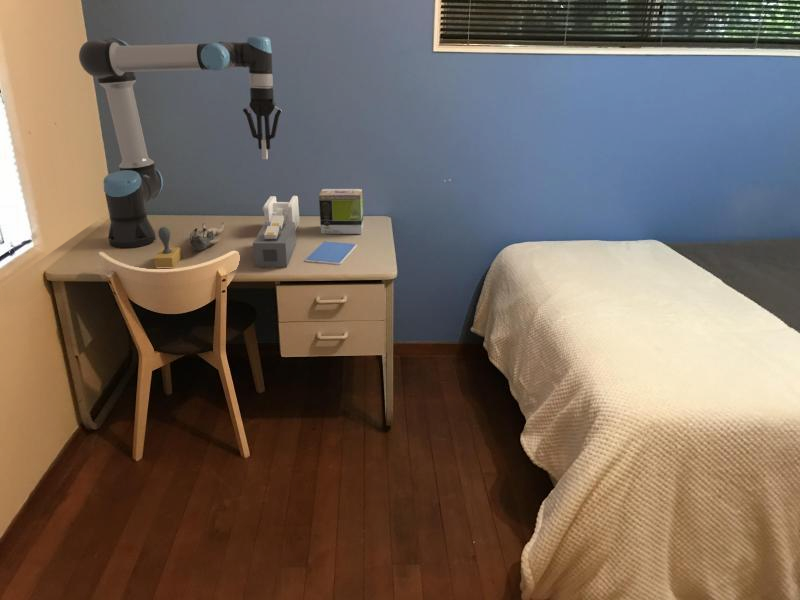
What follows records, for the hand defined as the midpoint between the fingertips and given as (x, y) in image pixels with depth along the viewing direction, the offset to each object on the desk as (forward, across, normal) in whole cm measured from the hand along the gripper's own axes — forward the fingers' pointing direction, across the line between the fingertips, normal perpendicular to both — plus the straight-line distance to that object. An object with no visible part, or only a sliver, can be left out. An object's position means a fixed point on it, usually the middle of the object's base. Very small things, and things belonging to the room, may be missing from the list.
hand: (265, 158), depth 213 cm
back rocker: (+18, -6, +18) cm, 26 cm away
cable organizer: (+27, -5, -4) cm, 28 cm away
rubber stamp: (+29, +27, +30) cm, 49 cm away
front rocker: (+18, -6, +28) cm, 34 cm away
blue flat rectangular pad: (+28, -24, +22) cm, 43 cm away
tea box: (+26, -27, -4) cm, 38 cm away
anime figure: (+28, +20, +10) cm, 36 cm away
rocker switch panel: (+27, -6, +23) cm, 36 cm away
